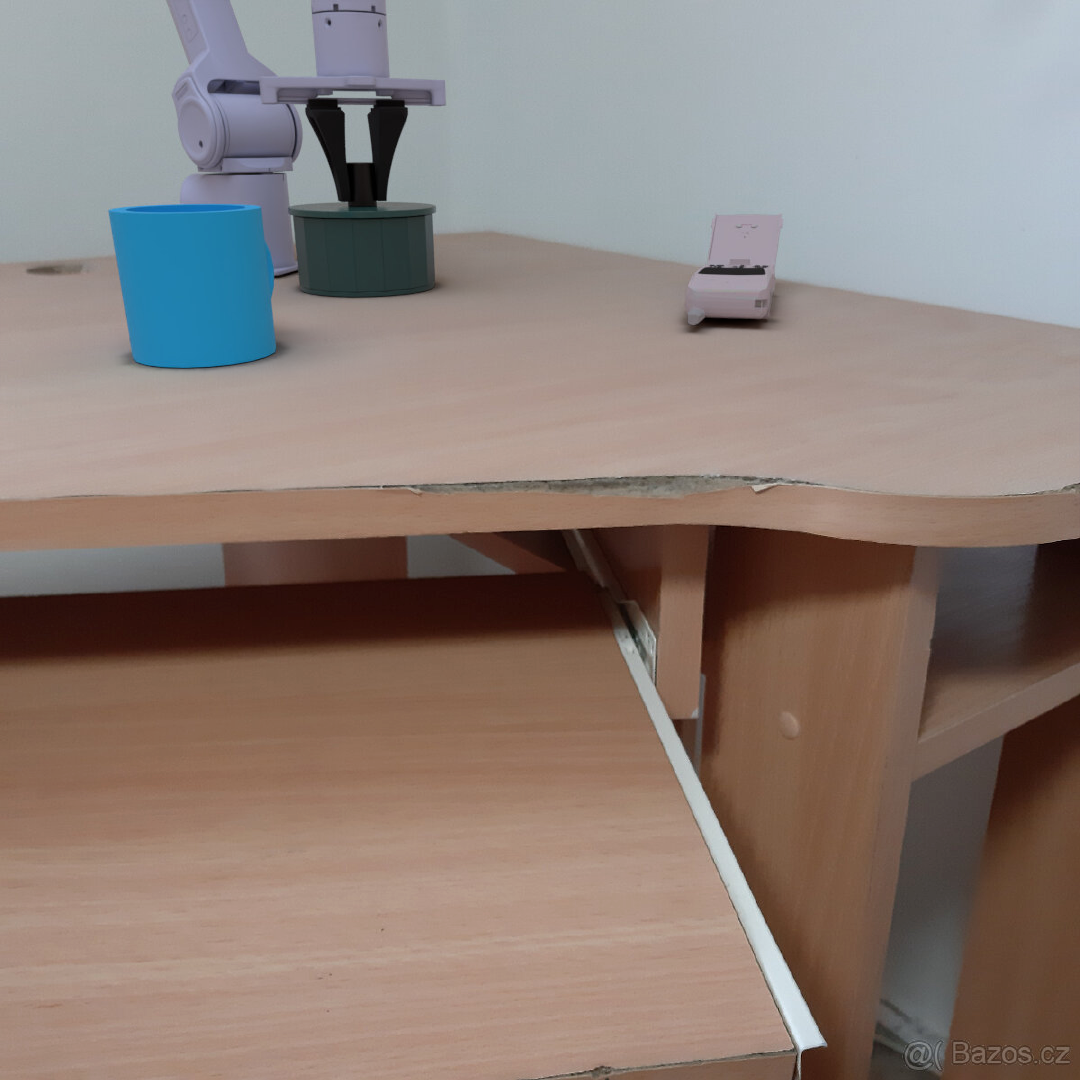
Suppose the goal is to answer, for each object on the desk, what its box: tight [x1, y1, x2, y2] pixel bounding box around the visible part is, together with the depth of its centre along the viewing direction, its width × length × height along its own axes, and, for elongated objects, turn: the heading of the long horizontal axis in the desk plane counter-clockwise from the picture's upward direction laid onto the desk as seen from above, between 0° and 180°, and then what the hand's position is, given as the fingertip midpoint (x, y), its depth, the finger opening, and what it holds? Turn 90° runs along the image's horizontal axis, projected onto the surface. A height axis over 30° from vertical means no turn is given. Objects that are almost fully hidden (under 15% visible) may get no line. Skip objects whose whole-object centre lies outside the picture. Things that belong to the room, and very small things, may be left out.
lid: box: [288, 161, 437, 218], centre depth 79 cm, size 12×12×4 cm
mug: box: [107, 203, 277, 369], centre depth 57 cm, size 12×8×8 cm
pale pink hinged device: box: [684, 213, 784, 326], centre depth 72 cm, size 6×6×25 cm
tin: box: [292, 214, 436, 298], centre depth 81 cm, size 11×11×6 cm
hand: (362, 201), depth 80 cm, fingers closed on lid, 2 cm apart
